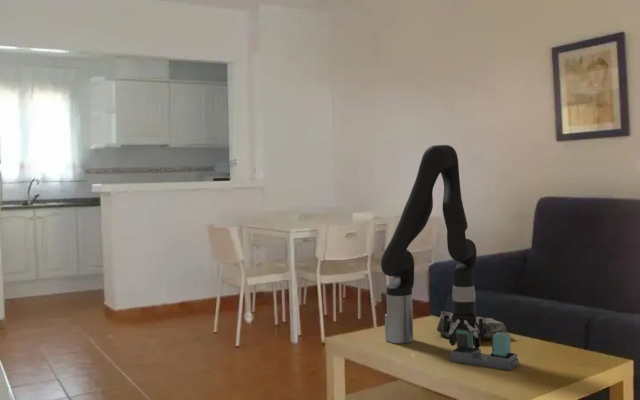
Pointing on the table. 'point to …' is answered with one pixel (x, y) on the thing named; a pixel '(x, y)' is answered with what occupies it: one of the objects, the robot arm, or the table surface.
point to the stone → (491, 324)
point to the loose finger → (464, 338)
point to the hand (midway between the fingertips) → (465, 346)
